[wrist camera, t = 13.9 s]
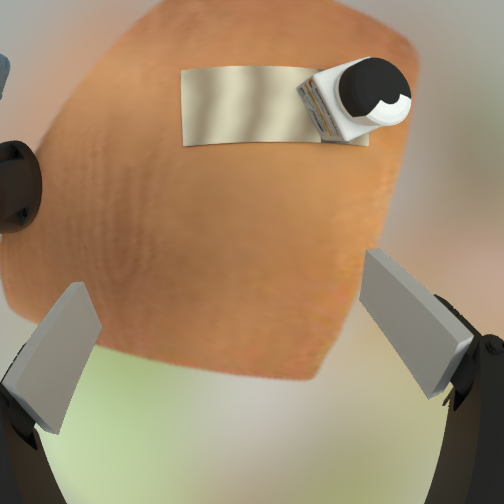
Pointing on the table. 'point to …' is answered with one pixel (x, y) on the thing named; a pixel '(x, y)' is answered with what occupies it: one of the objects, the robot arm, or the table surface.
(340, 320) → the table surface
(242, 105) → the metal panel
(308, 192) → the table surface
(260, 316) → the table surface
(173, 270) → the table surface
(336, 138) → the container
